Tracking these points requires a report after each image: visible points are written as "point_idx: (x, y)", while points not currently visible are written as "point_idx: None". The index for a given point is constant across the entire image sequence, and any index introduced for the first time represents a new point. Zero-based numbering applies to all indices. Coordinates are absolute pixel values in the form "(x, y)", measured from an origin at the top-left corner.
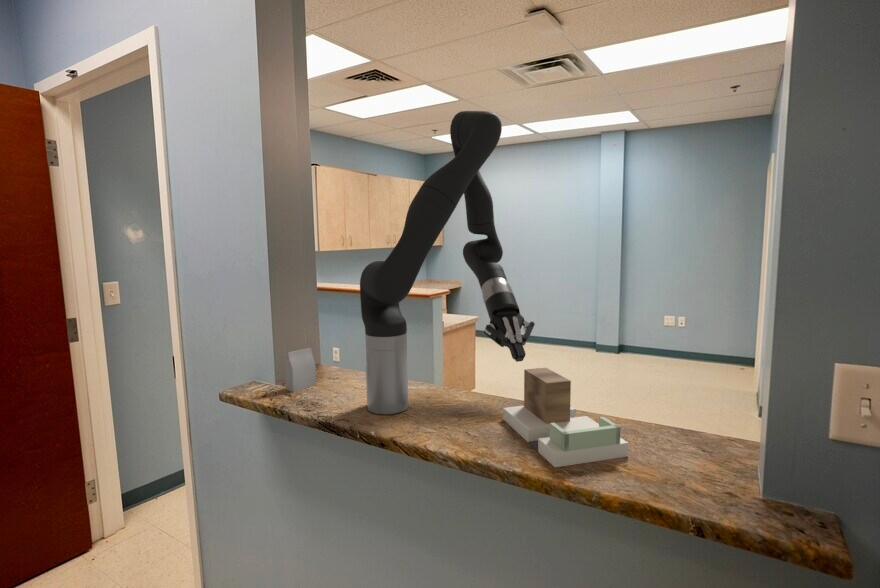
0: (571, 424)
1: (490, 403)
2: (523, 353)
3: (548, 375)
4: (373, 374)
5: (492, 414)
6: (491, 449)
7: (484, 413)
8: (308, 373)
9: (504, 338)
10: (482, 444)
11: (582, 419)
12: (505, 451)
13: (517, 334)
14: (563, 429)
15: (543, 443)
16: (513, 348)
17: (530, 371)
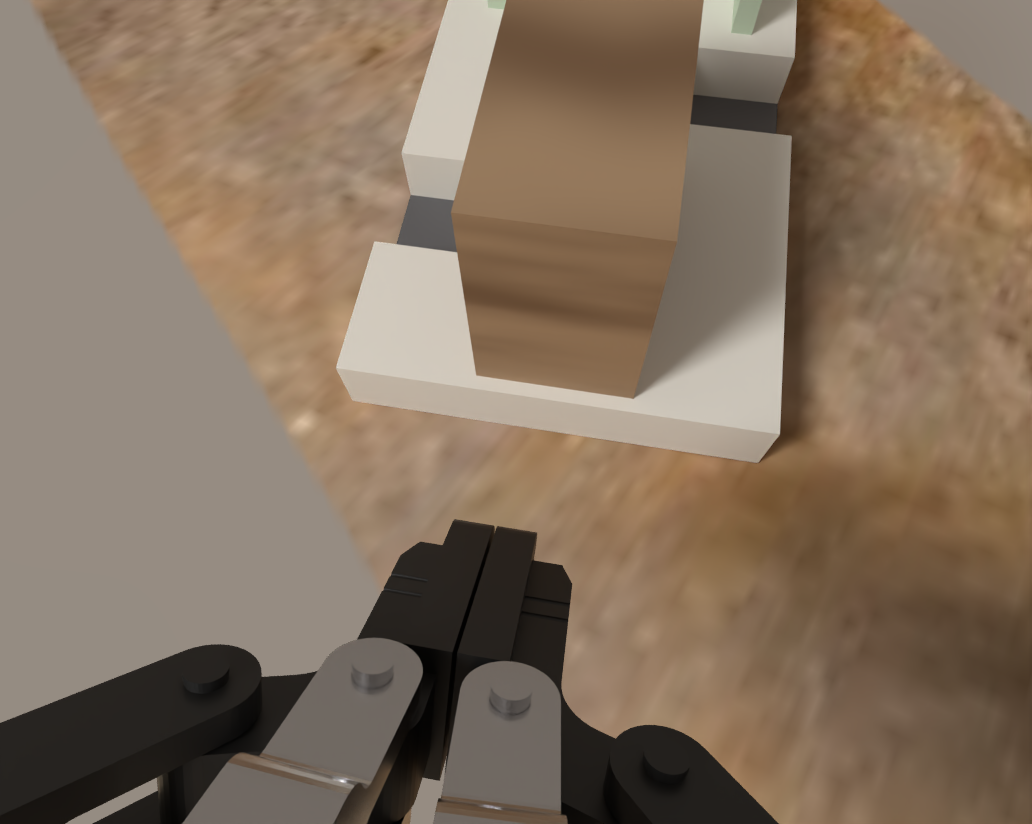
0: None
1: None
2: (448, 534)
3: (588, 47)
4: None
5: (787, 569)
6: (968, 193)
7: (834, 611)
8: None
9: (678, 765)
10: (995, 247)
11: (455, 130)
12: (911, 158)
13: (328, 773)
14: None
15: (795, 24)
16: (542, 640)
17: (658, 176)
